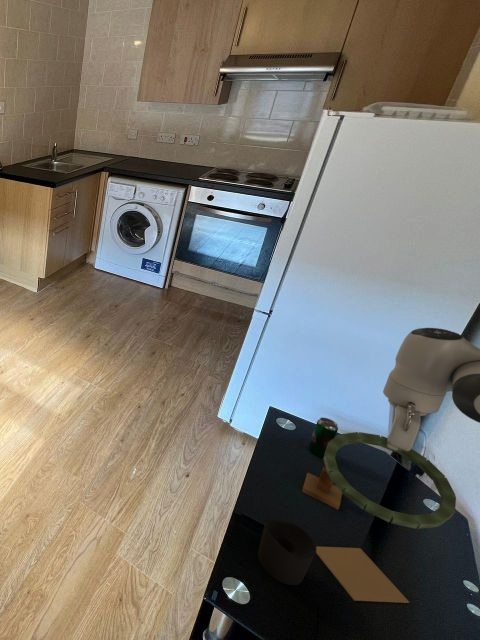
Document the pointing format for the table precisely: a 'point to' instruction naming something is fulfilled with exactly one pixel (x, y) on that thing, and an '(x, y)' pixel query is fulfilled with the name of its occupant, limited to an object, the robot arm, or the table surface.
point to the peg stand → (323, 489)
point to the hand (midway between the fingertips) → (391, 443)
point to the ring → (398, 518)
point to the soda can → (322, 436)
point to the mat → (359, 575)
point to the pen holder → (285, 551)
